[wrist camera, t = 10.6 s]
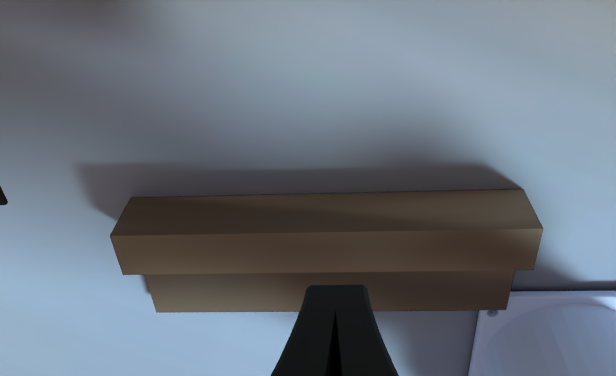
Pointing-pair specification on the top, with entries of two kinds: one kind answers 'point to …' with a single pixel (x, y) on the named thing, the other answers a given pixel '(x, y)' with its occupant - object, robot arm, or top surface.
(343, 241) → the wooden stepped rails
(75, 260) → the top surface
